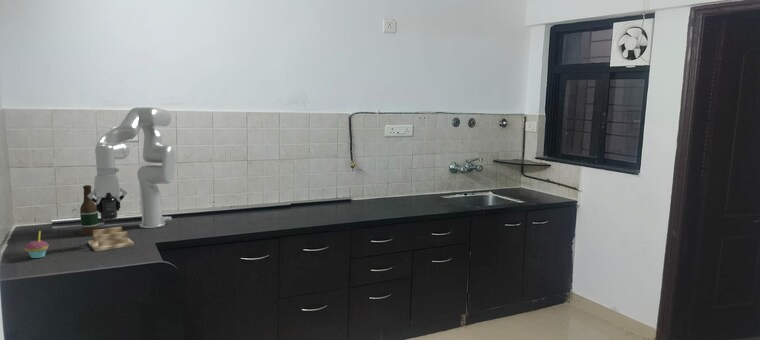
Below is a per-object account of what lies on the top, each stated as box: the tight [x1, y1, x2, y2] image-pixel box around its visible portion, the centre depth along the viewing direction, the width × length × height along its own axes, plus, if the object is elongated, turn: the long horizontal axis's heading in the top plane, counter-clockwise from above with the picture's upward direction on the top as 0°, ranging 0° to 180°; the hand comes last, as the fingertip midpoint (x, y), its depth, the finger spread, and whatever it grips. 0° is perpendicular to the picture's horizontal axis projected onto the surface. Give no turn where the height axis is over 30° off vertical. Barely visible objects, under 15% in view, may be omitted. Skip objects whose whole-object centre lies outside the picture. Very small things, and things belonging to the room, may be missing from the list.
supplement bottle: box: [99, 193, 118, 221], centre depth 249 cm, size 7×7×12 cm
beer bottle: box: [79, 184, 100, 237], centre depth 269 cm, size 8×8×24 cm
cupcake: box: [24, 230, 50, 258], centre depth 230 cm, size 9×8×12 cm
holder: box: [88, 226, 135, 252], centre depth 251 cm, size 16×16×6 cm
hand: (108, 211), depth 249 cm, fingers closed on supplement bottle, 6 cm apart
